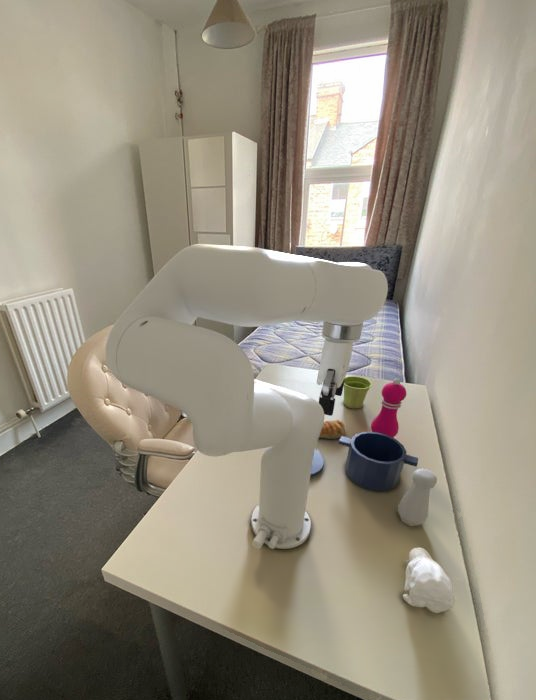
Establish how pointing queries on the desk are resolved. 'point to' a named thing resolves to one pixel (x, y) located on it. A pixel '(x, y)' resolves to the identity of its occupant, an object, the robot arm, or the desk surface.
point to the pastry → (333, 429)
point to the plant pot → (355, 391)
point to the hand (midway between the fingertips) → (330, 403)
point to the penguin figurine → (427, 583)
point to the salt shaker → (417, 498)
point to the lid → (317, 463)
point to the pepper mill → (389, 409)
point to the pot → (375, 460)
